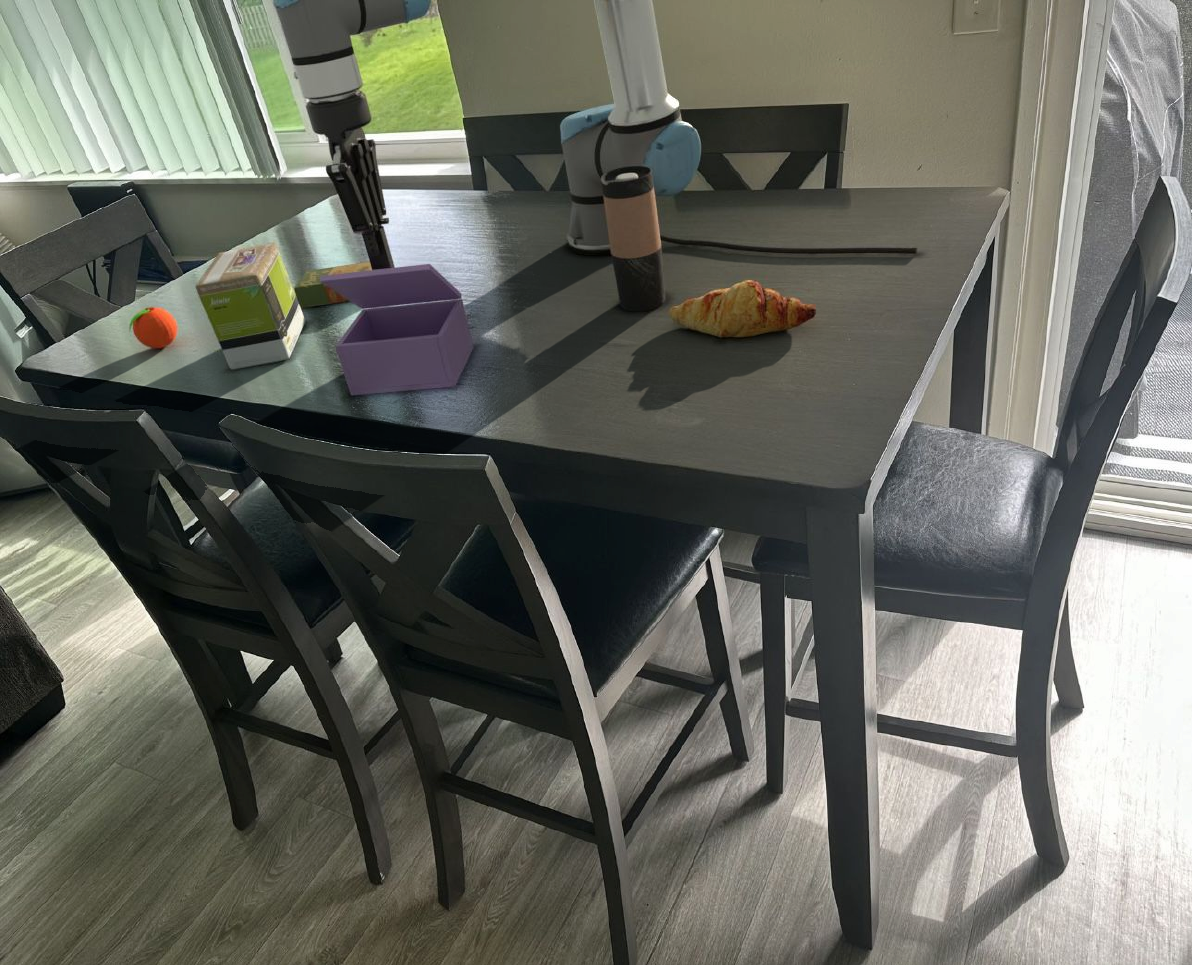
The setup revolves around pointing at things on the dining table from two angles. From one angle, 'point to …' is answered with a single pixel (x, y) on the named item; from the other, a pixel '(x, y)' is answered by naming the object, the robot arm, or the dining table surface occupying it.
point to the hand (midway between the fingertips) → (385, 274)
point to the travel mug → (634, 237)
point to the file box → (406, 347)
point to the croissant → (742, 311)
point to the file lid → (392, 286)
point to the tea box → (251, 305)
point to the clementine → (154, 327)
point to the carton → (323, 285)
